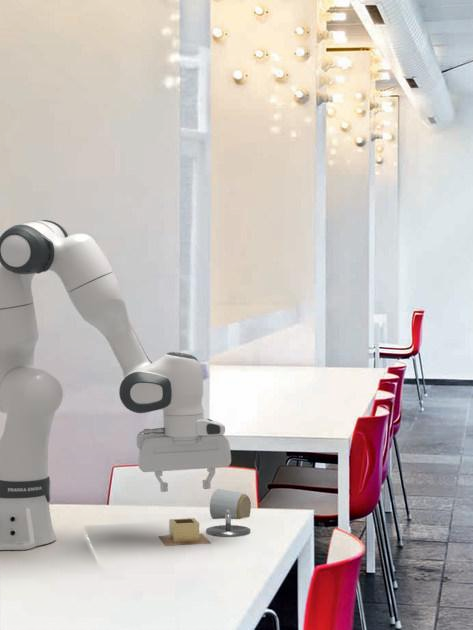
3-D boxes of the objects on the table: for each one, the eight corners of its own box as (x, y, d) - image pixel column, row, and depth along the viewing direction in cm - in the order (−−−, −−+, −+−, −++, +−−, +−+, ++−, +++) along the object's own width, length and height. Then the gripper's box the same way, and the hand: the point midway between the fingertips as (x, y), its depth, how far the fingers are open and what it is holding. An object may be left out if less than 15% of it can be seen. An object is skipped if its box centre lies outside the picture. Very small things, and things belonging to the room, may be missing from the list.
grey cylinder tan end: (239, 525, 263) (239, 493, 263) (208, 522, 267) (208, 491, 267) (258, 518, 273) (258, 487, 273) (228, 515, 276) (228, 484, 276)
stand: (165, 552, 236) (165, 534, 236) (157, 542, 246) (157, 524, 246) (211, 550, 239) (211, 531, 238) (202, 540, 248) (202, 522, 248)
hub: (211, 544, 244) (210, 516, 244) (202, 535, 253) (201, 507, 253) (255, 542, 246) (255, 513, 246) (244, 532, 256) (244, 505, 256)
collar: (173, 542, 239) (173, 524, 239) (169, 537, 244) (169, 519, 244) (199, 541, 240) (199, 523, 240) (194, 536, 246) (194, 518, 246)
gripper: (138, 431, 236) (140, 495, 237) (232, 426, 241) (233, 489, 241) (134, 427, 242) (136, 490, 243) (225, 422, 247) (227, 484, 247)
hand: (185, 489), depth 242 cm, fingers open, 8 cm apart
